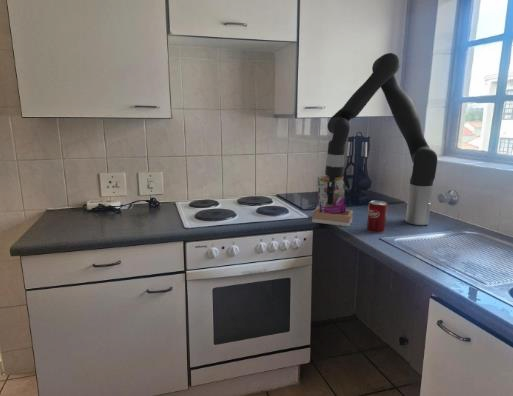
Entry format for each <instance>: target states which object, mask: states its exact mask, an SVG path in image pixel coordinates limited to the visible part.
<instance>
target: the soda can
mask: <svg viewBox="0 0 513 396" xmlns="http://www.w3.org/2000/svg"><path fill="white" fill-rule="evenodd" d="M387 213H388V203H387V202H385V201H382V200H371V201H369V202H368V208H367V220H366V230H367V231H368V232H370V233H373V234H382V233H384V232H385V230H386V224H387Z"/></svg>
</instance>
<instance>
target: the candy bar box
mask: <svg viewBox="0 0 513 396" xmlns="http://www.w3.org/2000/svg"><path fill="white" fill-rule="evenodd" d="M316 179H317V181H316V182H317V193H318V207H319V211H320V212H321V213H330V214H336V213H345V210H346V193H345V177H344V175H343V176H341V177H336V178H335V184H336V183H337V184H336V191H334V196H333V204H332V205H331V204H327V202H328V195H327V185H328V184H327V183H328V182H329V180H330V176H327V175H324V176H317V178H316ZM334 187H335V186H334ZM333 189H334V188H333ZM330 193H332V191H330Z"/></svg>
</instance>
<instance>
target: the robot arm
mask: <svg viewBox="0 0 513 396" xmlns="http://www.w3.org/2000/svg"><path fill="white" fill-rule="evenodd" d="M400 67H401V60H400V58H399V56H398V55H397V54H395V53H391V52H388V53H385V54H383V55H381V56H379V57H378V58H377V59H376V60H374V62H373V64H372V68H371V69H372V73H371V74H370V76H369V77H368V78H367V79H366V81H365V82H364V83H362V85H360V87H359V88H358V89H356V91H355V92H354V93H353V94H352V95H351V96H350V97H349V98H348V99H347V101H346V103H344V105H343V106H342V107H341V108H340V109H339V110H337V112H335V113H334V114H333V115H332V116H331V117H330V119H329V120H328V122H327V130H328V132H330V133H331V134H332V138H331V140H330V141H328V143H327V144H328V146H327V155H326V160H325V171H324V174H325V175H324V176H330V180H329V182H328V183H327V184H328V185H327V195H328V202H327V204H331V205H332V204H333V196H334V191H336V184H337V183H336V184H335V178H336V177H341V176H343V177H344V166H345V149H346V143H347V140H348V137H349V133H350V129H351V127H350V122H349V121H351V120H352V119H355V118H356V117H358V116H359V114H360V113H361V112H362V111H363V109H364V108H365V107H366V106H367V104H368V103H369V102H370V100H371V99H372V98H373V96H374V95H375V94H376V93H377V92H378V91H379V89H381V90H382V92H383V95H384V97H385V100H386V102H387V104H388V106H389V109H390V112H391V114H392V117H393V118H394V122H395V123H396V125H397V127H398V130H399V131H400V133H401V135H402V136H403V139H404V140H405V142H406V144H407V145H406V146H407V148H408V151H409V154H410V159H411V162H412V164H413V165H412V173H411V176H410V179H409V186H408V187H409V188H408V196H407V204H406V205H407V207H406V215H405V222H406V223H408V224H410V225H411V224H412V225H416V226H425V225H426V226H428V225H429V221H430V212H431V206H432V205H431V204H432V203H431V201H432V193H433V186H434V185H433V184H434V181H435V178H436V173H437V166H438V155H437V153H436V151H434V150H433V149H432V148H431V147H430V145H429V144H428V143H427V141H426V138H425V136H424V134H423V130H422V125H421V120H420V116H419V113H418V111H417V109H416V106H415V104H414V101H413V100H412V99H411V97H410V96H409V95H408V94H407V93H406V92H405V91H404V89H402V87H401V85H400V84H399V81H398V79H397V77H396V73H398V71H399V69H400ZM334 186H335V187H334ZM333 188H334V189H333ZM330 191H332V193H330Z"/></svg>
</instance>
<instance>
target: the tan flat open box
mask: <svg viewBox="0 0 513 396" xmlns="http://www.w3.org/2000/svg"><path fill="white" fill-rule="evenodd" d="M353 213H354V211H353V210H350V209H345V213H336V214H330V213H321V212H320V211H319V206H316V208H314V209H313V211H312V216H311V222H312V223H315V224H316V223H317V224H318V223H319V224H324V225H325V224H326V225H331V226H340V225H341V226H343V227H348V226H349V227H350V225H351V224H350V223H352V222H353V215H354V214H353Z"/></svg>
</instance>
